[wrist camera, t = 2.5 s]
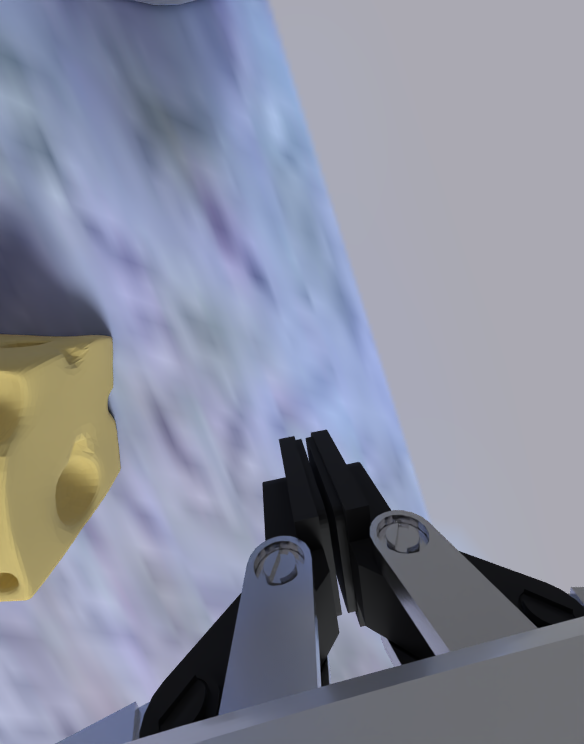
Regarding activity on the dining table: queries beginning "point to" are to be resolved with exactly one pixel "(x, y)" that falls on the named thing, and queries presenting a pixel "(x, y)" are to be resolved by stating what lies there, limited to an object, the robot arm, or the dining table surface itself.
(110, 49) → the dining table surface
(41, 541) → the cheese
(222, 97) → the dining table surface
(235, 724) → the robot arm
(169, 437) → the dining table surface
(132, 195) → the dining table surface
